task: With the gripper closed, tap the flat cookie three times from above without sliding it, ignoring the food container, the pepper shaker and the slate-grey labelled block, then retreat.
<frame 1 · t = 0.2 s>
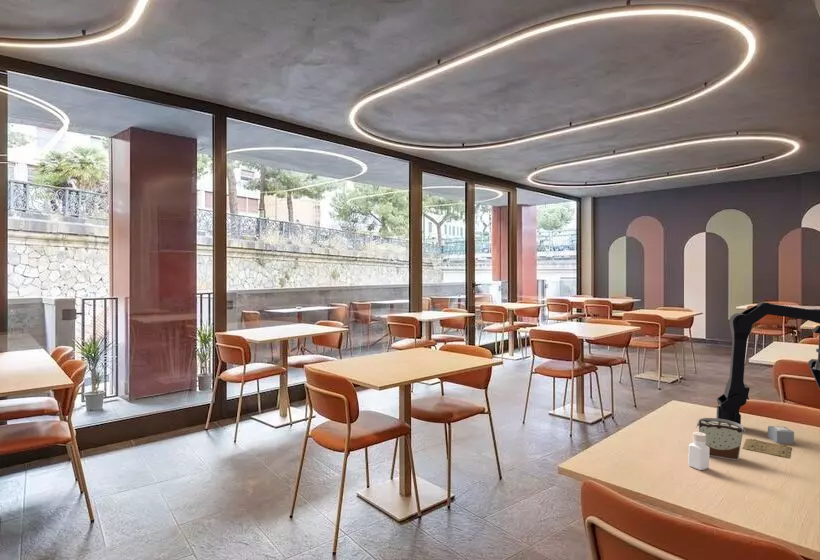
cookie: (766, 450, 155), on the table
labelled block: (780, 441, 162), on the table
food container: (717, 454, 150), on the table
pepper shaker: (698, 468, 140), on the table
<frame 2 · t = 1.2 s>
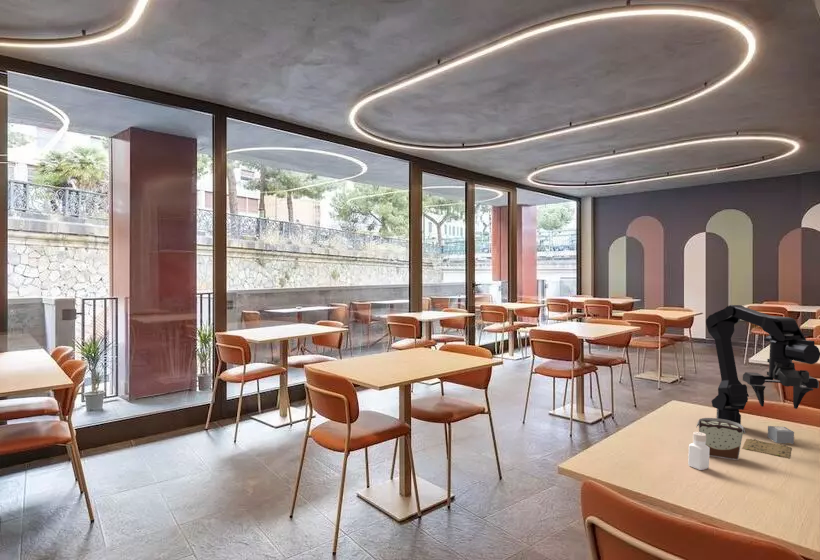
hand: (778, 407, 156), 12 cm above the table, fingers open, 9 cm apart
nothing on the table moved.
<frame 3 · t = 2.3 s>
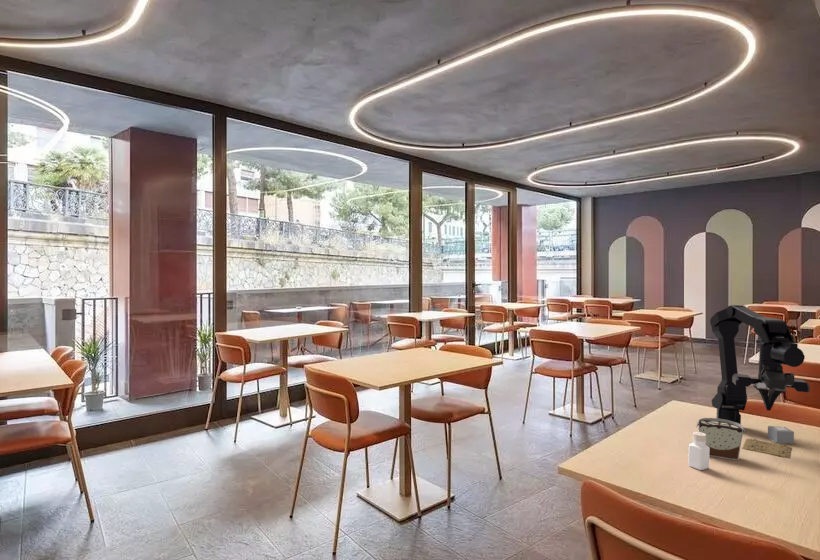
hand: (768, 410, 155), 12 cm above the table, fingers closed
nothing on the table moved.
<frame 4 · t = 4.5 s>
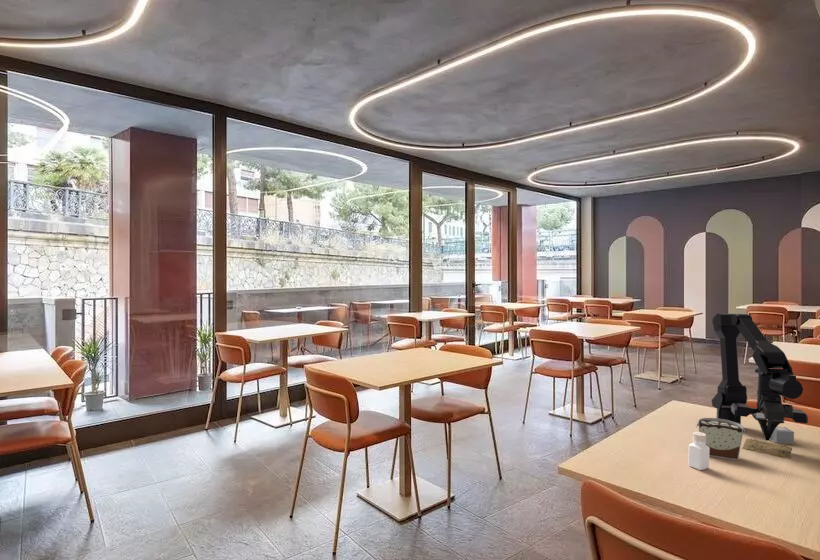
hand: (766, 440, 155), 2 cm above the table, fingers closed
nothing on the table moved.
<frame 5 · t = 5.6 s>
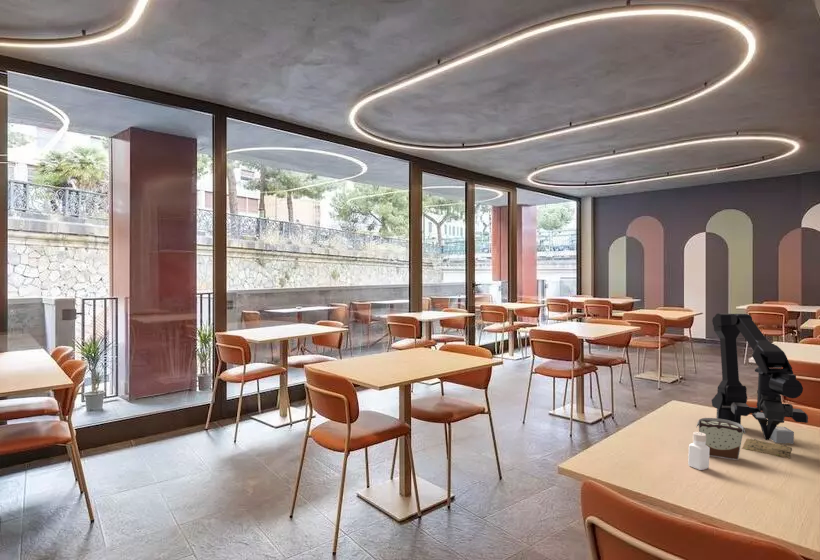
hand: (766, 439, 155), 3 cm above the table, fingers closed
nothing on the table moved.
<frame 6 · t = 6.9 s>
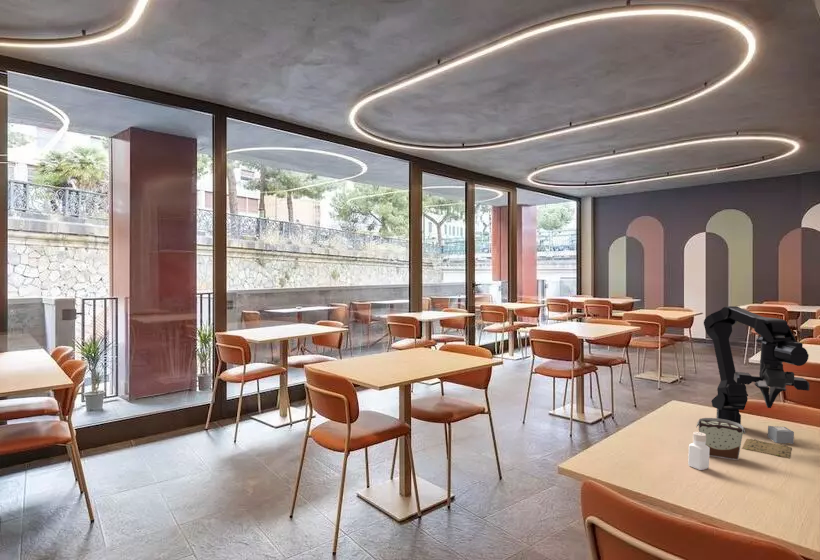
hand: (768, 407, 158), 12 cm above the table, fingers closed
nothing on the table moved.
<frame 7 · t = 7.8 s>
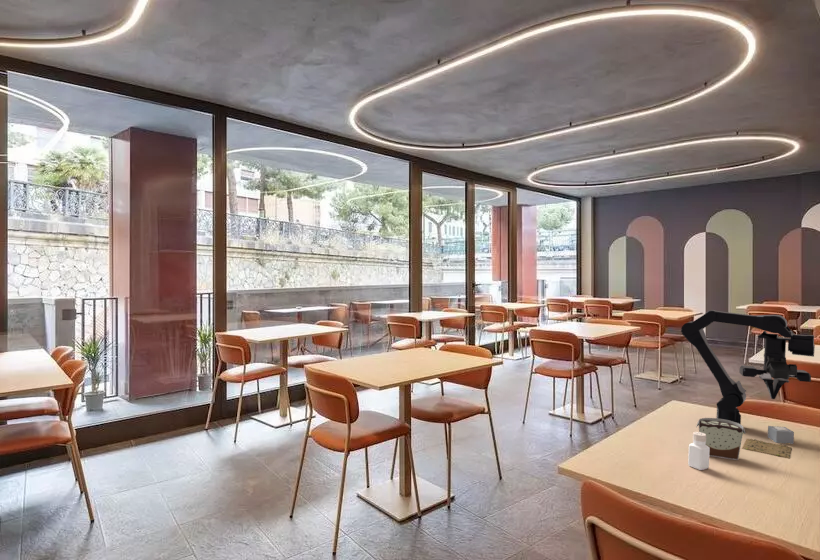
hand: (772, 398, 168), 12 cm above the table, fingers closed
nothing on the table moved.
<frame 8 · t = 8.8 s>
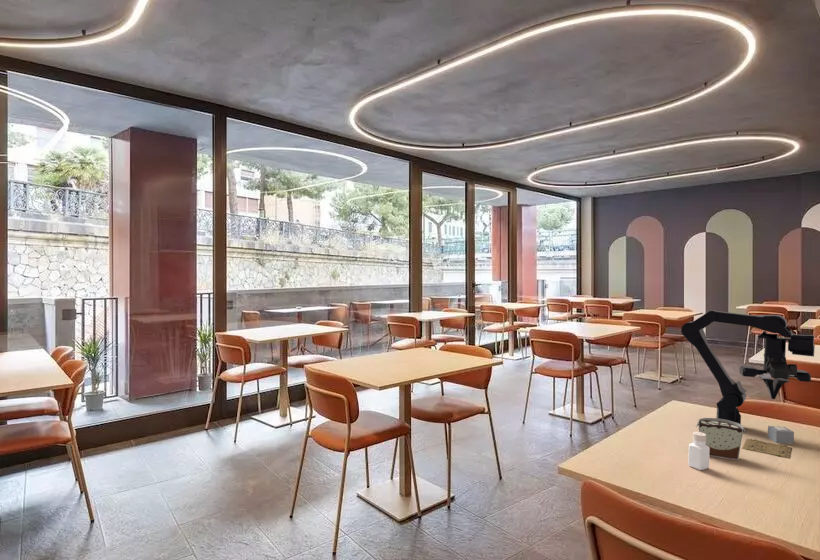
hand: (772, 398, 168), 12 cm above the table, fingers closed
nothing on the table moved.
at the end: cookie moved 0.6 cm from its start; the gripper is holding nothing; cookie on the table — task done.
